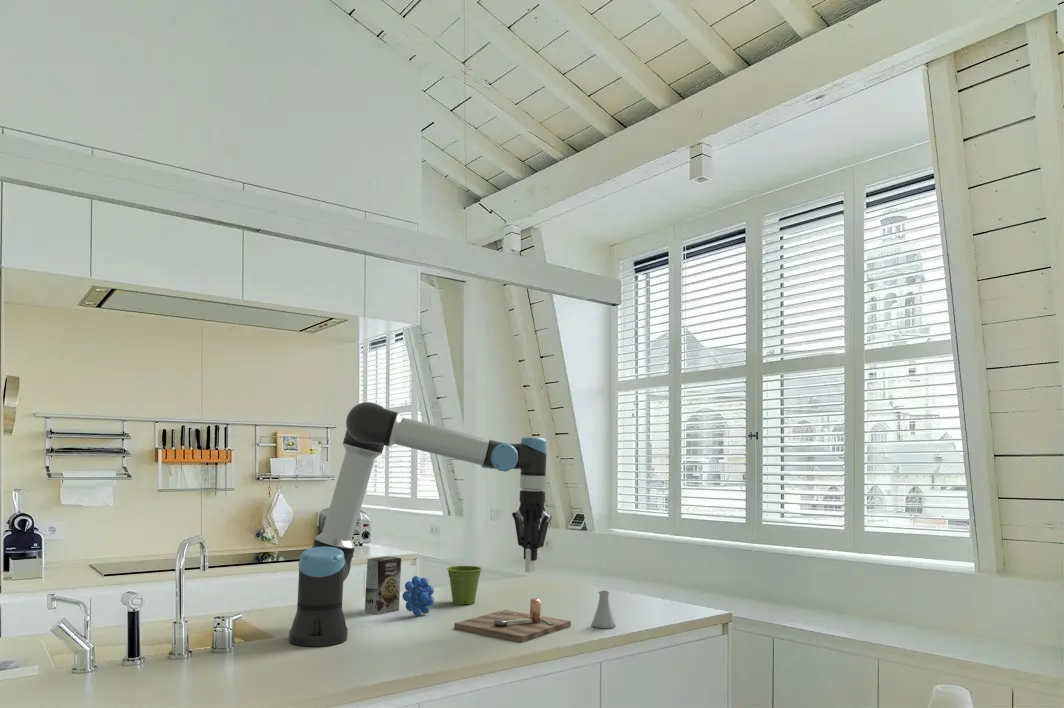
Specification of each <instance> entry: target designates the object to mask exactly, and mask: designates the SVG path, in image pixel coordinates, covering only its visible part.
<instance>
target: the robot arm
mask: <svg viewBox="0 0 1064 708" xmlns="http://www.w3.org/2000/svg"><path fill="white" fill-rule="evenodd" d="M345 424H346V425H345V426H346V429H345V430H346V431H345V434H344V437H343V441H342V446H343V447H344V449H345V453H344V457H343V461H342V464H341V467H340V471H339V474H338V478H337V481H336V484H335V488H334V491H333V495H332V498H331V500H330V505H329V508H328V512H327V515H326V518H325V522H324V526H323V529H322V532H320V534H318V535H316V536H315V537H314V540H313V543H312V547H311V548H308V549H305V550H303V551H302V552H301V553H300V555H299V556H300V557H299V561H298V582H297V583H298V584H297V603H296V604H297V605H296V606H297V607H296V613H295V616H294V618H293V622H292V625H291V628H290V629H289V631H288V642H289V643H290V644H292V645H296V646H303V647H325V646H333V645H334V646H335V645H337V644H341V643H343V642H346V641H347V640H348V636H349V635H348V633H349V632H348V627H347V623H346V618H345V615H344V612H343V596H344V595H343V592H344V591H343V590H344V582H345V581H346V579H347V578H348V576H349V574H350V572H351V562H352V559H353V557H354V552H355V549H356V545H355V543H354V542H353V541H354V540H353V536H354V534H355V531H356V525H357V523H358V519H359V515H360V511H361V508H362V505H363V502H364V499H365V496H366V491H367V488H368V484H369V482H370V481H369V480H370V477H371V474H372V470H373V467H374V464H375V460H376V458H377V457H380V456H381V455H383V451H384V448H385V446H386V447H392V446H393V445H397V446H401V447H406V448H409V449H412V450H413V449H414V450H418V451H422V452H426V453H430V454H434V455H438V456H443V457H446V458H450V459H454V460H459V461H463V462H466V463H471V464H475V465H479V466H480V467H481V468H483V469H491V470H492V469H493V470H497V471H499V472H503V473H504V472H509V471H511V470H520V475H519V488H520V491H519V500H518V501H519V503H520V505H519V508H518V510H516V511H515V512H514V511H513V512H512V513H511V515H512V518H513V521H514V526H515V532H516V539H517V544H518V546H519V547H522V548H523V560H525V561H524V562H525V563H524V564H525V565H524V568H525V569H524V572H525V573H534V572H535V570H536V569H535V568H536V561H537V560H538V549H540V548H543V547H544V544H545V541H546V536H547V532H548V528H549V523H550V522H551V521H552V518H553V516H552V515H551V514H547V512H546V508H545V503H546V491H545V489H546V478H547V477H546V476H547V475H546V472H547V454H548V453H547V440H546V439H545V438H544V437H528V436H527V437H522V439H521V441H520V442H519V443H507V442H501V441H496V440H492V439H488V438H486V437H485V438H484V437H481V436H477V435H473V434H468V433H464V432H462V431H457V430H454V429H449V428H445V427H442V426H441V427H440V426H437V425H433V424H429V423H425V422H422V421H417V420H413V419H410V418H407V417H406V418H405V417H402V416H401V414H400V412H397V411H393V410H390V409H387V408H385V407H383V406H382V405H380V404H377V403H375V402H370V401H365V402H360V403H358V404H356V405H355V406H353V407H352V408H351V409H350V411H349V412H348V414H347V416H346V421H345Z"/></svg>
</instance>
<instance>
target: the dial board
mask: <svg viewBox="0 0 1064 708" xmlns="http://www.w3.org/2000/svg"><path fill="white" fill-rule="evenodd" d="M529 618H530V613H527V612H521V611H515V610H509V609H503V610H500V611H499V610H498V611H495V612H492V613H488V614H484V615H480V616H475V617H473V618H472V617H471V618H469V619H465V620H461V621H456V622H454V625H453V626H454V627H453V628H454V629H453V630H460V631H464V632H469V633H474V634H479V635H485V636H489V637H494V638H498V639H503V640H509V641H513V642H518V643H524V642H528V641H531V640H533V639H537V638H540V637H542V636H545V635H550V634H553V633H555V632H558V631H561V630H564V629H567V628H570V627H571V622H572V621H570V620H567V619H566V620H565V619H561V618H554V617H548V616H543V615H540V618H542V621H540V622H525V623H514V624H507V625H505V626H496V625H494V620H498V619H503V620H507V621H508V620H519V619H529Z"/></svg>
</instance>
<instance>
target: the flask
mask: <svg viewBox="0 0 1064 708" xmlns="http://www.w3.org/2000/svg"><path fill="white" fill-rule="evenodd" d="M598 594H599V599H598V605H597V608H596V611H595V613H594V616H593V619H592V621H591V626H592V627H594V628H599V629H613V628H615V627H616V622H615V618H614V616H613V613H612V609H611V606H610V599H609V595H610V591H609V590H598Z"/></svg>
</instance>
